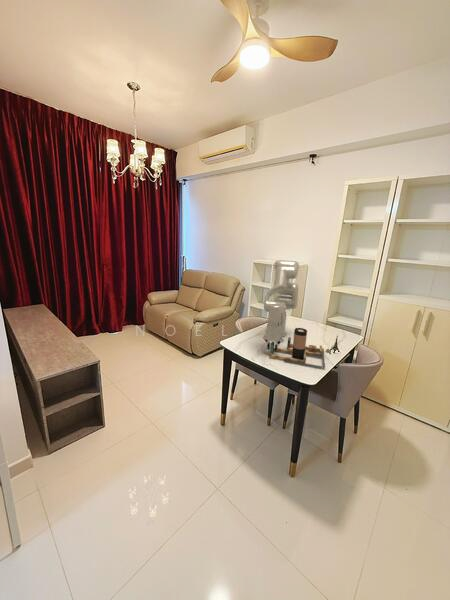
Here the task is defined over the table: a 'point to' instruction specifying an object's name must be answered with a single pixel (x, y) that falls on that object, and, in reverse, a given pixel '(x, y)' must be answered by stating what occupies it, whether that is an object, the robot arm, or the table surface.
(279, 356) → the brown low piece
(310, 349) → the walnut block
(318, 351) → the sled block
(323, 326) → the table surface
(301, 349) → the travel mug
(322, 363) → the lane frame
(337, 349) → the eiffel tower figurine
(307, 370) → the table surface
